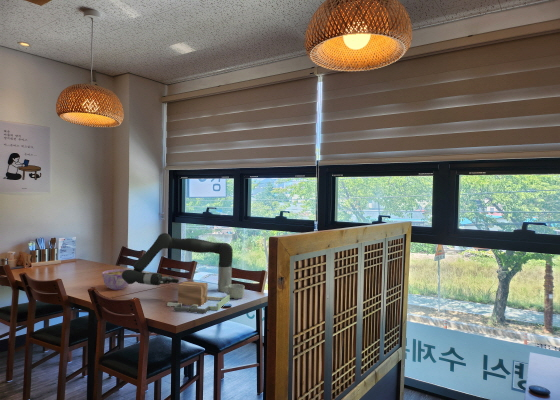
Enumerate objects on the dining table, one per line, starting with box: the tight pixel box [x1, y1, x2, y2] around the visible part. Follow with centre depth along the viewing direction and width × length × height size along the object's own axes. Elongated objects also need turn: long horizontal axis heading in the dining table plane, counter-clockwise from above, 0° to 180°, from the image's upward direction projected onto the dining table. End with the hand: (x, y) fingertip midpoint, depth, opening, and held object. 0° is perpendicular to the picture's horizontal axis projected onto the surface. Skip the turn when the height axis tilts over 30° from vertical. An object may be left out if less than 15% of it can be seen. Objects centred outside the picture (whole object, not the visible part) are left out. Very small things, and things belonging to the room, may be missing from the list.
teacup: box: [223, 283, 246, 300], centre depth 252 cm, size 14×11×8 cm
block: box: [177, 281, 208, 307], centre depth 238 cm, size 10×15×12 cm, turn 79°
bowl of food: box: [101, 268, 130, 291], centre depth 269 cm, size 20×20×12 cm
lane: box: [166, 294, 231, 314], centre depth 233 cm, size 28×32×4 cm
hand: (178, 281), depth 239 cm, fingers closed
